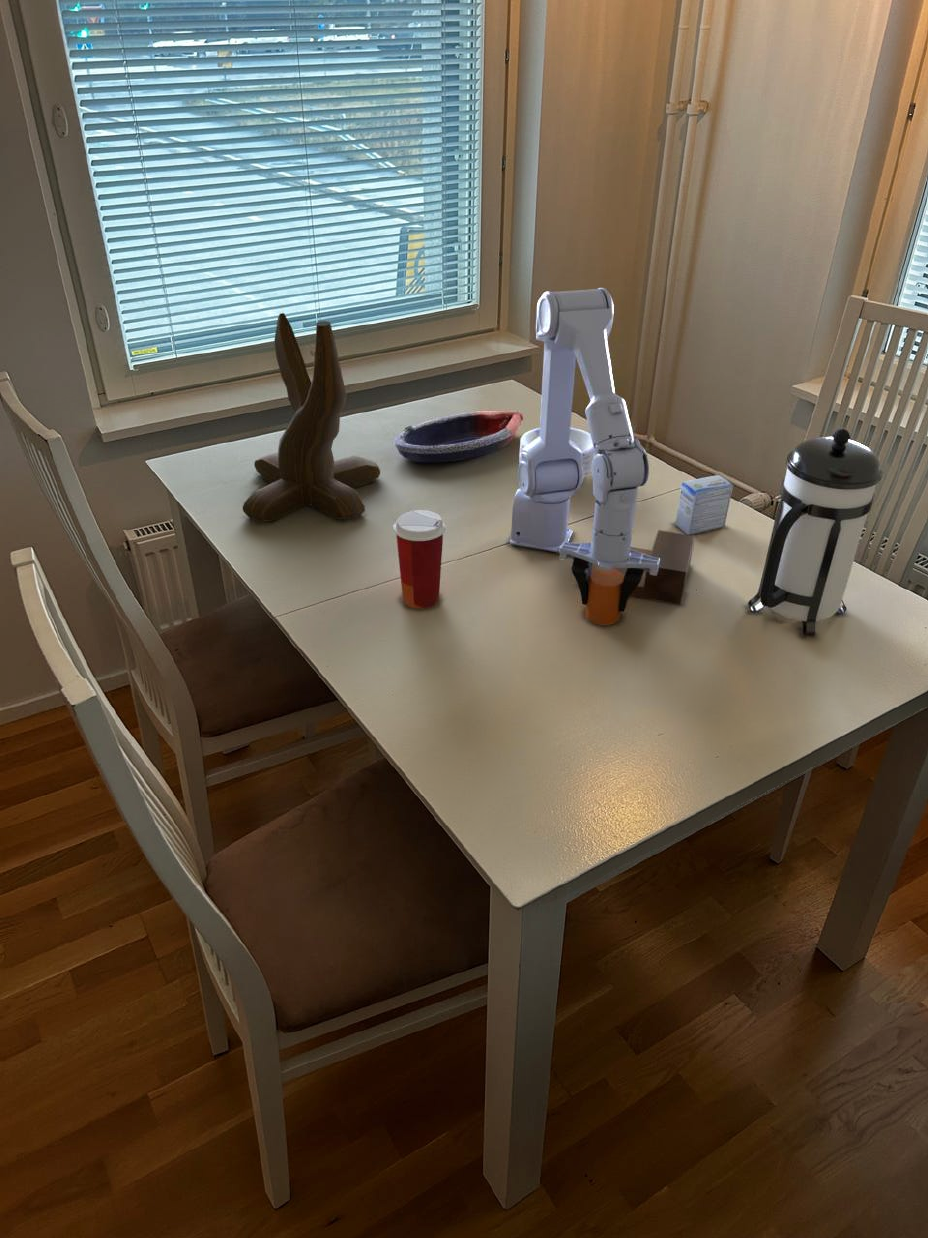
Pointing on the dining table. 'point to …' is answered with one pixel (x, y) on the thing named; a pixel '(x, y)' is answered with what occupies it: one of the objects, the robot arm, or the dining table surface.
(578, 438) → the paper bowls
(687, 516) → the medicine box
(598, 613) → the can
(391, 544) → the dining table surface
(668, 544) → the shelf riser
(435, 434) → the dish
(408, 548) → the paper cup
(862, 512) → the coffee press
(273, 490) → the wooden stand
